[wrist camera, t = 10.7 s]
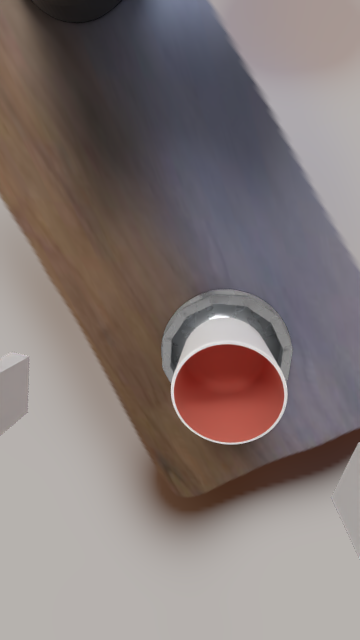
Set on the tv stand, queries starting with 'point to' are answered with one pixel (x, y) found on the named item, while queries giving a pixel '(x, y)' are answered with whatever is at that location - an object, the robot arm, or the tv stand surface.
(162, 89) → the tv stand surface
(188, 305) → the faceted steel dish
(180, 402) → the cup
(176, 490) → the tv stand surface
